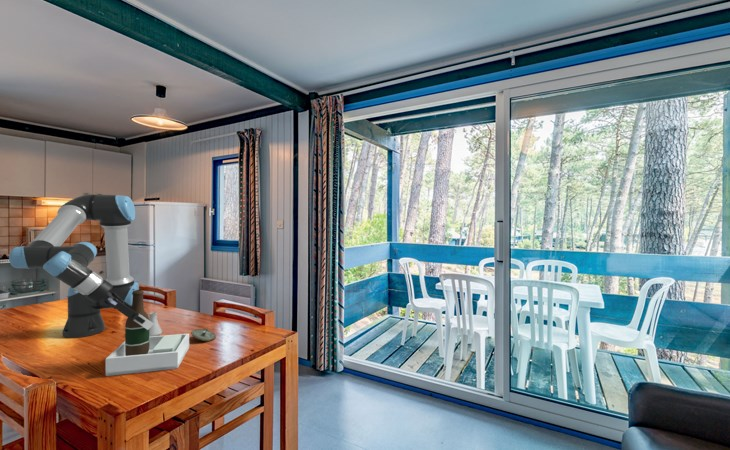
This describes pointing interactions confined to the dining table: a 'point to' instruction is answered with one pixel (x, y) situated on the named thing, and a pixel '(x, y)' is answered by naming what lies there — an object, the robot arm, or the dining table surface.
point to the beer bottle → (136, 329)
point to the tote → (146, 358)
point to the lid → (203, 334)
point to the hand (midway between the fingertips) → (148, 324)
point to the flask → (154, 325)
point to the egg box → (168, 344)
